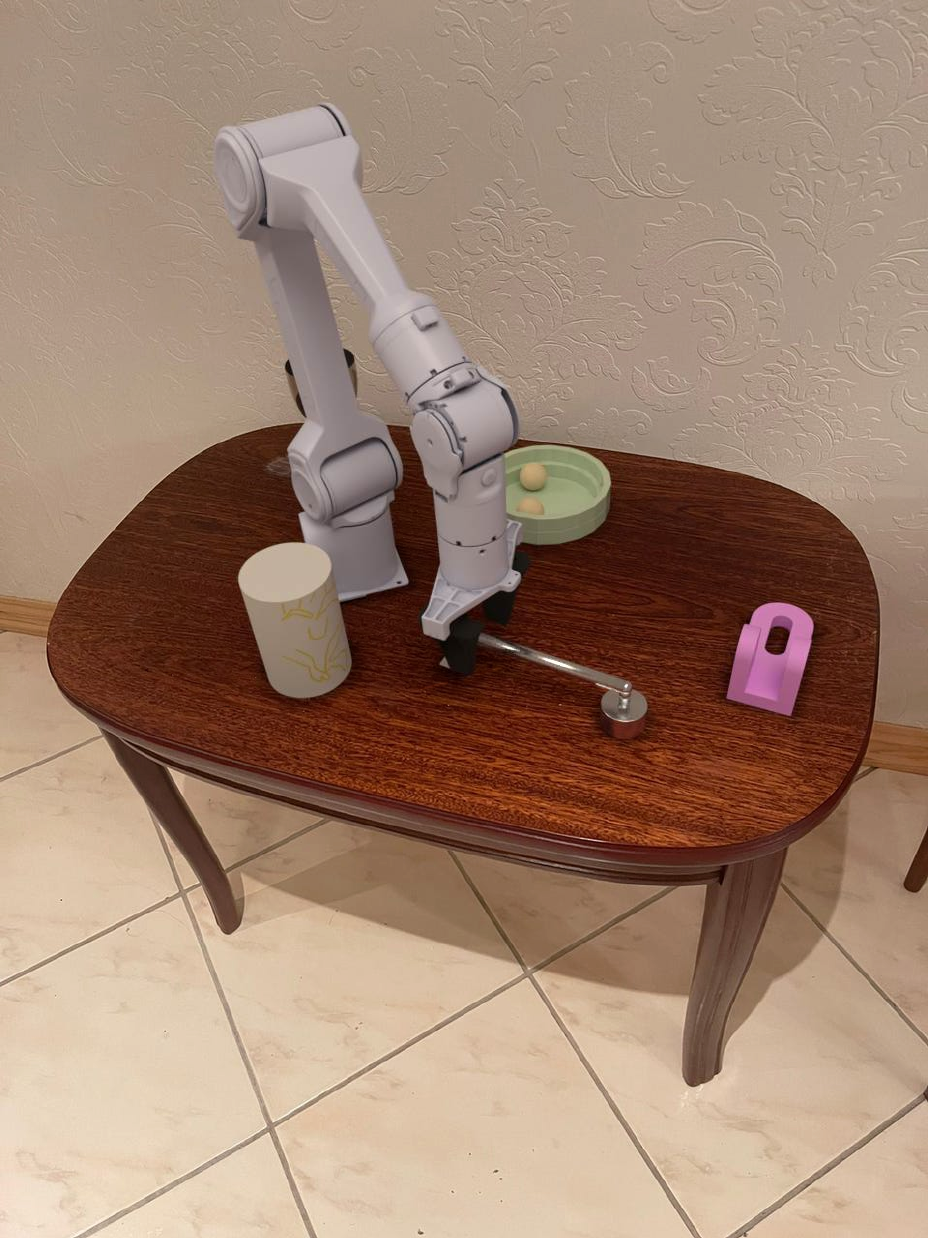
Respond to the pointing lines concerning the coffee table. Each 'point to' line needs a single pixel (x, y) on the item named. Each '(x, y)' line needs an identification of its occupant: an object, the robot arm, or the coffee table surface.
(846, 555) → the coffee table surface
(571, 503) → the bowl
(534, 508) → the dough ball
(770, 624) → the bracket
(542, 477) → the dough ball
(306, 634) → the cream cylinder
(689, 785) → the coffee table surface
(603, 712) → the weighted chrome rod
